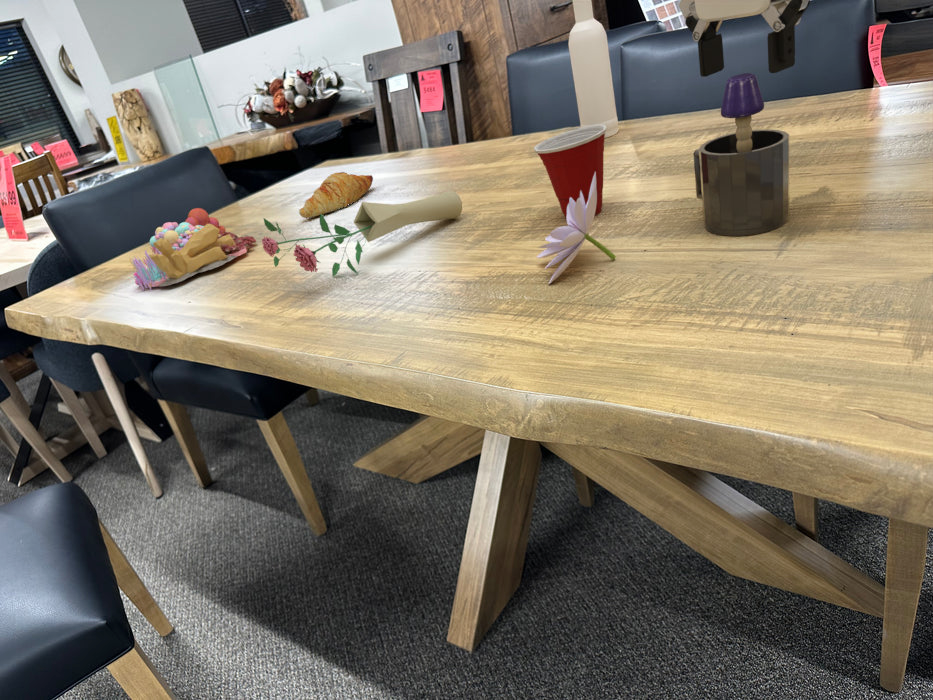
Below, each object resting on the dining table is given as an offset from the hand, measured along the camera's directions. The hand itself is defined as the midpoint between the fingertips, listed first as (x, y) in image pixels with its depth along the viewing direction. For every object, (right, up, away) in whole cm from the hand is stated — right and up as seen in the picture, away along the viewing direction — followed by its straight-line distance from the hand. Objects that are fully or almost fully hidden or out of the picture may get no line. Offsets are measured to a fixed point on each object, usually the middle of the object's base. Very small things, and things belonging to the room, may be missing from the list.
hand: (745, 71), depth 72 cm
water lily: (-17, -20, +10) cm, 29 cm away
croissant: (-60, +1, +70) cm, 92 cm away
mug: (+3, -15, +10) cm, 18 cm away
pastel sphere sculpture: (-86, -15, +55) cm, 103 cm away
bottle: (-2, +15, +68) cm, 69 cm away
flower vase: (-45, -17, +31) cm, 57 cm away
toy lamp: (+4, -15, +8) cm, 17 cm away
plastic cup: (-14, -11, +26) cm, 31 cm away
